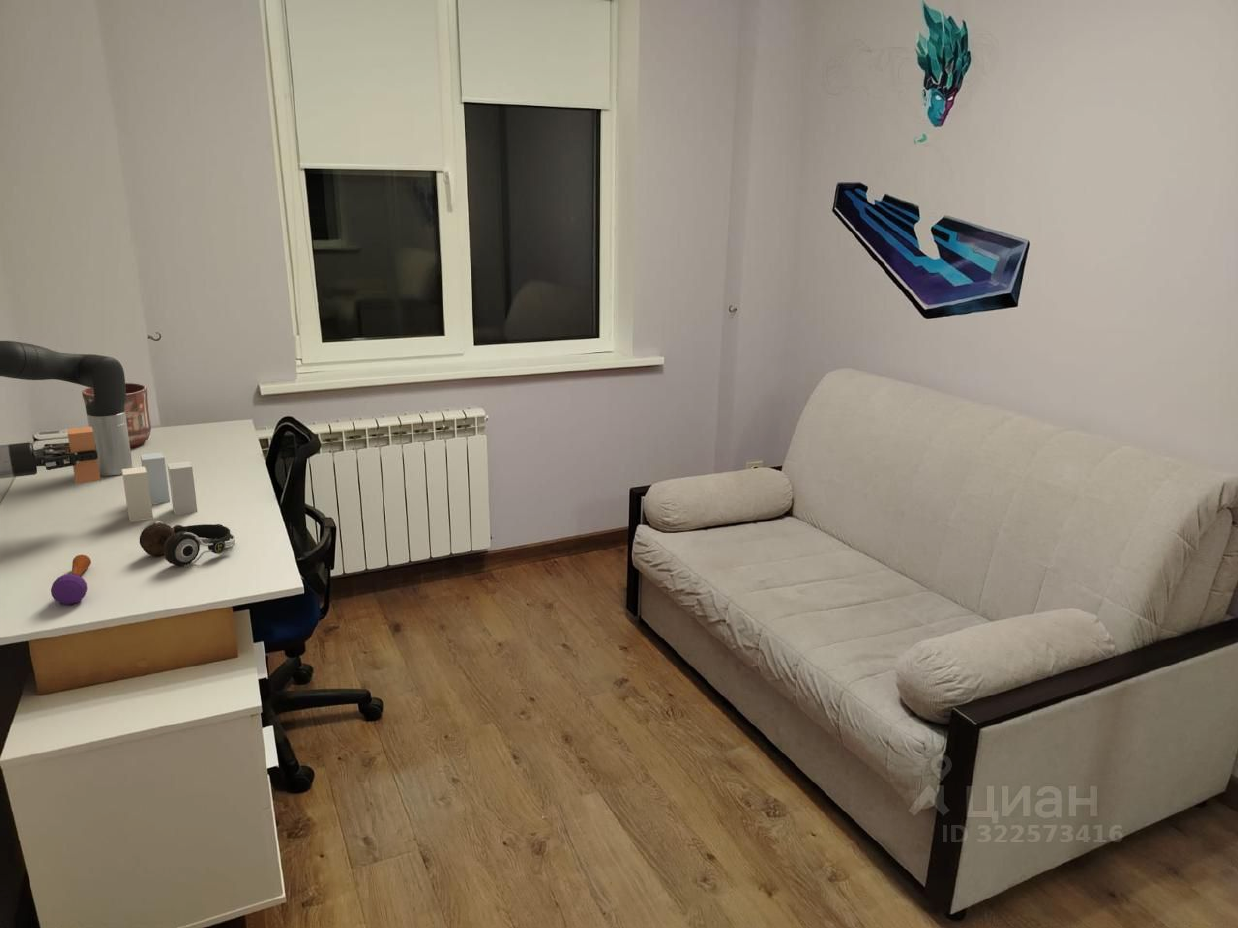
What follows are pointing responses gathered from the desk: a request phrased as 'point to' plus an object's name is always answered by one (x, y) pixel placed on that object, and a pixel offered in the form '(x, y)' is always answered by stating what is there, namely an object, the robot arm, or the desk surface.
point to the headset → (184, 541)
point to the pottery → (132, 412)
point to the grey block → (182, 487)
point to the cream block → (137, 493)
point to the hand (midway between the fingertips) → (96, 451)
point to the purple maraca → (72, 583)
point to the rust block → (83, 442)
